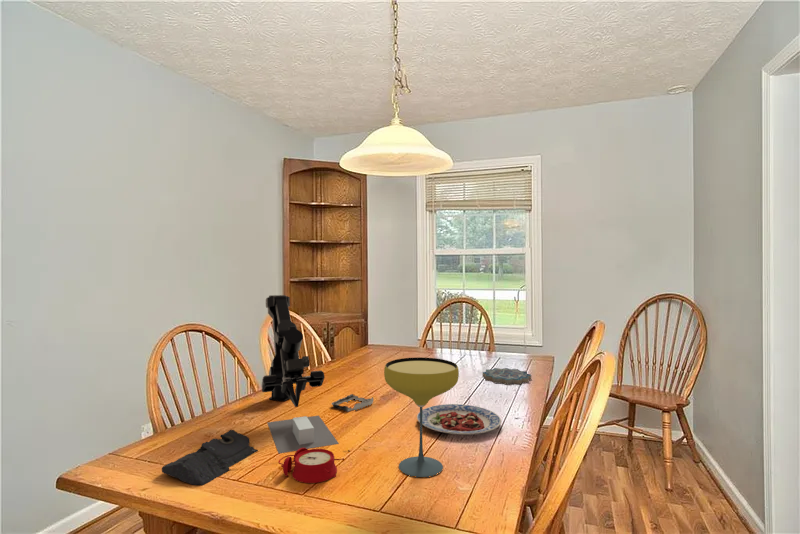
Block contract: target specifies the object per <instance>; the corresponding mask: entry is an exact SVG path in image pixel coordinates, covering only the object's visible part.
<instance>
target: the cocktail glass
mask: <svg viewBox="0 0 800 534" xmlns="http://www.w3.org/2000/svg"><path fill="white" fill-rule="evenodd" d="M383 375H384V377H383V378H384V381H385V382H386V383H387V385H388V386H389V387H390V388H391V389H392V390H394V391H396V392H397V393H400V394H402V395H404V396H406V397H408V398H410V399H411V400H412V402H414V404H415V405H416V406H417V407H418V408H419V412H420V422H419V443H418V444H419V445H418V446H419V449H418V455H416V456H411V457H407V458H404V459H403V460H401V461H400V462H399V464H398V469H399V471H400V470H401V471H402V472H403V474H404V473H405V474H404V475H406V474H407V475H406V476H408V475H410V476H409V477H412V476H416V477H415V478H418V477H427V478H430V477H429V476H432V477H434V476H433V475H436V474H437V473H439V472H441V471H442V472H443V470H444V465H443V463H442V462H441V461H439V460H438V459H436V458H433V457H428V456H424V452H423V451H424V449H423V448H424V447H423V425H422V410H423V408H425V406H426V405H428V403H429V401H430V400H432V399H433V398H436V397H437V396H440V395H442V394H445V393H447V392H449V391H451V389H453V388H454V387H455V386H456V385H457V383H458V382H459V377H460V376H459V375H460V371H459V367H458V365H457V364H456V363H455V362H453V361H450V360H447V359H443V358H437V357H421V356H420V357H419V356H418V357H405V358H404V357H403V358H397V359H393V360H390V361H388V362H386V363H385V365H384V369H383ZM442 469H443V470H442ZM401 471H400V472H401ZM402 472H401V473H402ZM442 472H441V473H442ZM439 474H440V473H439ZM436 476H437V475H436Z"/></svg>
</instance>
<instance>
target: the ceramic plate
mask: <svg viewBox="0 0 800 534" xmlns="http://www.w3.org/2000/svg"><path fill="white" fill-rule="evenodd" d="M416 418H417V421H418V423H420V411H419V412H418V413H417V415H416ZM501 424H502V419H501V417H500V415H498V414H497V413H496V412H494V411H491V410H489V409H487V408H484V407H480V406H476V405H470V404H462V403H459V404H458V403H448V404H447V403H445V404H438V405H431V406H429V407H426V408H425V407H424V409H423V408H422V427H423V426H424V427H425V428H427V429H430V430H432V431H435V432H440V433H444V434H451V435H479V434H484V433H488V432H492V431H493V430H497V428H499V427H500V425H501Z"/></svg>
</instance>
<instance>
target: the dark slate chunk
mask: <svg viewBox="0 0 800 534" xmlns="http://www.w3.org/2000/svg"><path fill="white" fill-rule="evenodd" d="M219 437H220V438H212V439H210V440H209V441H205V442H202V443H201V446H200V447H199V448H198V449H197V450H196V451H195V452H191V453H188V454H185V455H183V456H182V457H180V458H178V459H176V460H175V461H171V462H169V463H167V464H165V465H164V466H163V465H162V467H161V473H162V474H165V475H168V476H170V477H173V478H176V479H179V480H180V482H181V481H182V482H184V483H187V484H189V485H195V486H204V485H206V484H208V483H210V482H213V481H214V480H215V479H217V478H219V477H222V476H223V475H224V474H226V473H228V472H230V471H231V470H232V469H230V467H232V466H234V465H236V464H238V463H240V462H241V461H243V460H245V459H246V458H248V457H250V456H252V455H253V454H256V453H257V452H259V450H258V449H256V448H255V447H254V446H250V442H251V441H250V440H251V439H250V438H249V436H247V435H245V434H243V433H239V432H237V431H235V430H234V429H230V430H228V431H227V432H225V433H223V434H220V435H219Z"/></svg>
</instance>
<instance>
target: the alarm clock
mask: <svg viewBox="0 0 800 534" xmlns="http://www.w3.org/2000/svg"><path fill="white" fill-rule="evenodd" d="M292 457H293V458H292ZM283 459H284V460H283ZM282 460H283V463H281V461H282ZM335 461H345V458H344V457H343V458H335V455H334V453H333V452H332V451H331V450H328V449H325V448H310V449H307V448H300V449H298V450H297V451H295V452H294V454H287V455H285V456H283V457H281V458H280V459H279V460H278V464H279V465H281V467H282V471H283V475H284V476H285V477H289V474H288V473H291V475H292V478H293V479H294V480H295V481H297V482H300V483H305V484H316V483H323V482H325V481H328V480H331V479H333V478H336V477H337V475H336V474H337V472H338V468H337V466H336V463H335ZM293 466H294V468H292V467H293ZM292 469H293V470H292Z"/></svg>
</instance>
